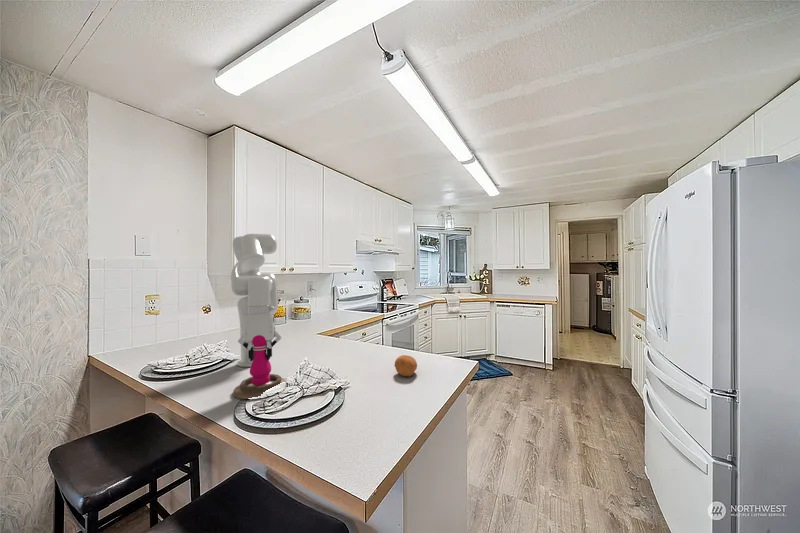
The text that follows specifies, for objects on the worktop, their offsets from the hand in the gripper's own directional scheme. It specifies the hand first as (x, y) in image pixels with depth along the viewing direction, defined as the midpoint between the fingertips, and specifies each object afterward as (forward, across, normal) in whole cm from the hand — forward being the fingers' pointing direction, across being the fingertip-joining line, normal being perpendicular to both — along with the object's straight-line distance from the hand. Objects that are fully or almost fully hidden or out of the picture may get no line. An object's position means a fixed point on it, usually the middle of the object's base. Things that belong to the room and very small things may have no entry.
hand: (260, 358), depth 111 cm
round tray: (+11, 0, 0) cm, 11 cm away
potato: (+11, -55, 0) cm, 56 cm away
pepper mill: (+9, 0, 0) cm, 9 cm away
